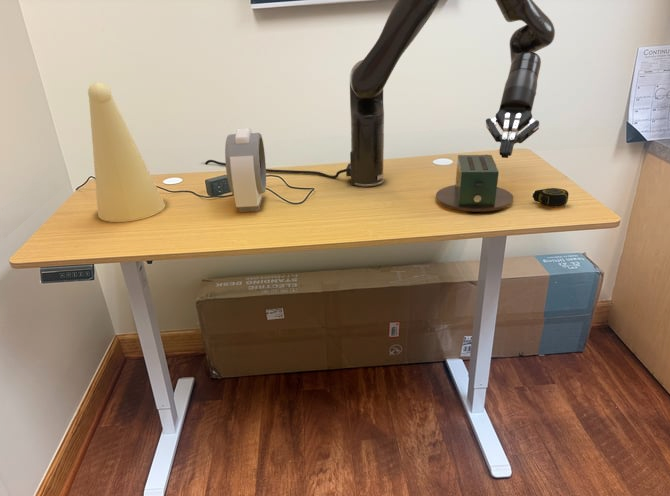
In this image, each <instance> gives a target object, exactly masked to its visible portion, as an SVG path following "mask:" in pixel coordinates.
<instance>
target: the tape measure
mask: <svg viewBox="0 0 670 496" xmlns="http://www.w3.org/2000/svg"><path fill="white" fill-rule="evenodd" d="M532 198H533V201H534V202H536V203H539V204H540V205H541V206H543V207H549V208H558V207H563V206H566V205H567V203H568V200H569V191H568V190H566V189H563V188H556V187H549V188H548V187H547V188H542V189H536V190H534V192H533V193H532Z"/></svg>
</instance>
